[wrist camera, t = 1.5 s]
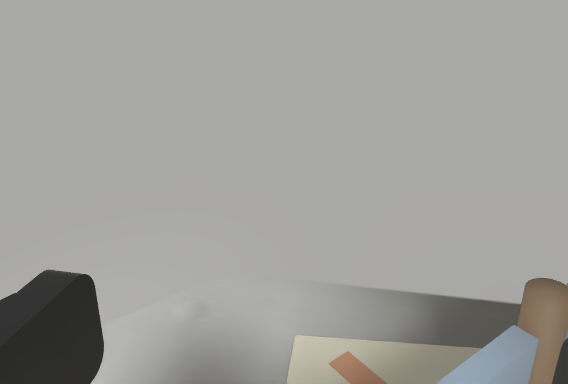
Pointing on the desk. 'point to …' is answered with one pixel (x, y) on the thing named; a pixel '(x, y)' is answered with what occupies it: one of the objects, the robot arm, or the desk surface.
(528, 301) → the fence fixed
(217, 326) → the desk surface
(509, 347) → the fence panel
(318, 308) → the desk surface
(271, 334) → the desk surface
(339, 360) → the card
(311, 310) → the desk surface
